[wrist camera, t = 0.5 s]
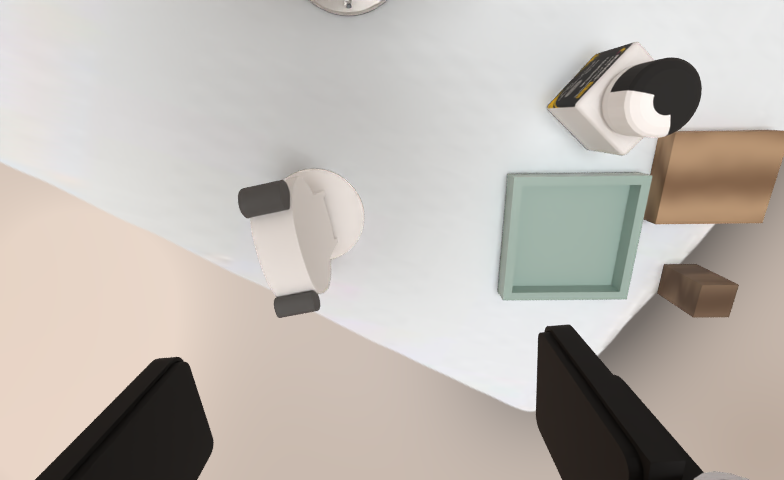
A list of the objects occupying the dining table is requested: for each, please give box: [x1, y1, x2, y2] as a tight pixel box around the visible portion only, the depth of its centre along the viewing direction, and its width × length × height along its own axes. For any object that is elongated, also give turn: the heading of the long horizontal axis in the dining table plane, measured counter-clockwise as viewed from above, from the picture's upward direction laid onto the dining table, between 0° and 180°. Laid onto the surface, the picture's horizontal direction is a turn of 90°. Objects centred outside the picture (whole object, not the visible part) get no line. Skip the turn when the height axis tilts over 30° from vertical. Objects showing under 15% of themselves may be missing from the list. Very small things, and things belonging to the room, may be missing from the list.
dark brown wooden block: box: [658, 264, 739, 317], centre depth 44 cm, size 4×4×6 cm
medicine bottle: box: [548, 42, 702, 155], centre depth 35 cm, size 7×7×12 cm
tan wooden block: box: [644, 130, 784, 224], centre depth 42 cm, size 10×12×3 cm
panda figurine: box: [238, 169, 364, 318], centre depth 37 cm, size 12×11×15 cm
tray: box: [498, 172, 652, 300], centre depth 44 cm, size 15×15×2 cm
